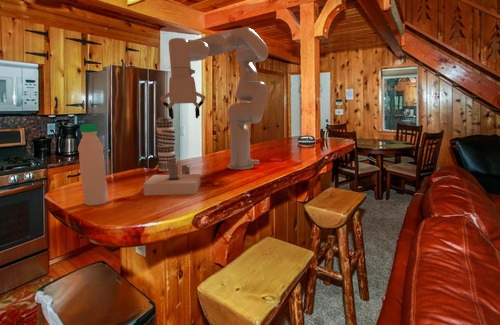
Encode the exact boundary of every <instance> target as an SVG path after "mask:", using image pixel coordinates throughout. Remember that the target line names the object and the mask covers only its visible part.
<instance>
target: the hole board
mask: <svg viewBox="0 0 500 325" xmlns="http://www.w3.org/2000/svg"><path fill="white" fill-rule="evenodd" d="M200 186H201V174H199V173H190V174H182V173H181V174H178V180H169V174H152V176H150V178H148V179H147V180H146V181H145V182H144V183H143V196H175V195H176V196H177V195H197V194H198V191H199V189H200Z"/></svg>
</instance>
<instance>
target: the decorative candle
mask: <svg viewBox="0 0 500 325" xmlns="http://www.w3.org/2000/svg"><path fill="white" fill-rule="evenodd" d="M155 122H156V129H155V130H156V131H155V133H154V134H155V138H156V140H155V141H156V146H157V161H158V162H157V168H158V171H159V172H169V166H168V160H171V159H176V160H177V158H176V156H177V155H176V152H175V151H176V150H175V145H176V142H175V141H176V135H174V134H175V133H176V131H175V129H174V123H173V119H171V117H158V118H157V119H156V121H155Z"/></svg>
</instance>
